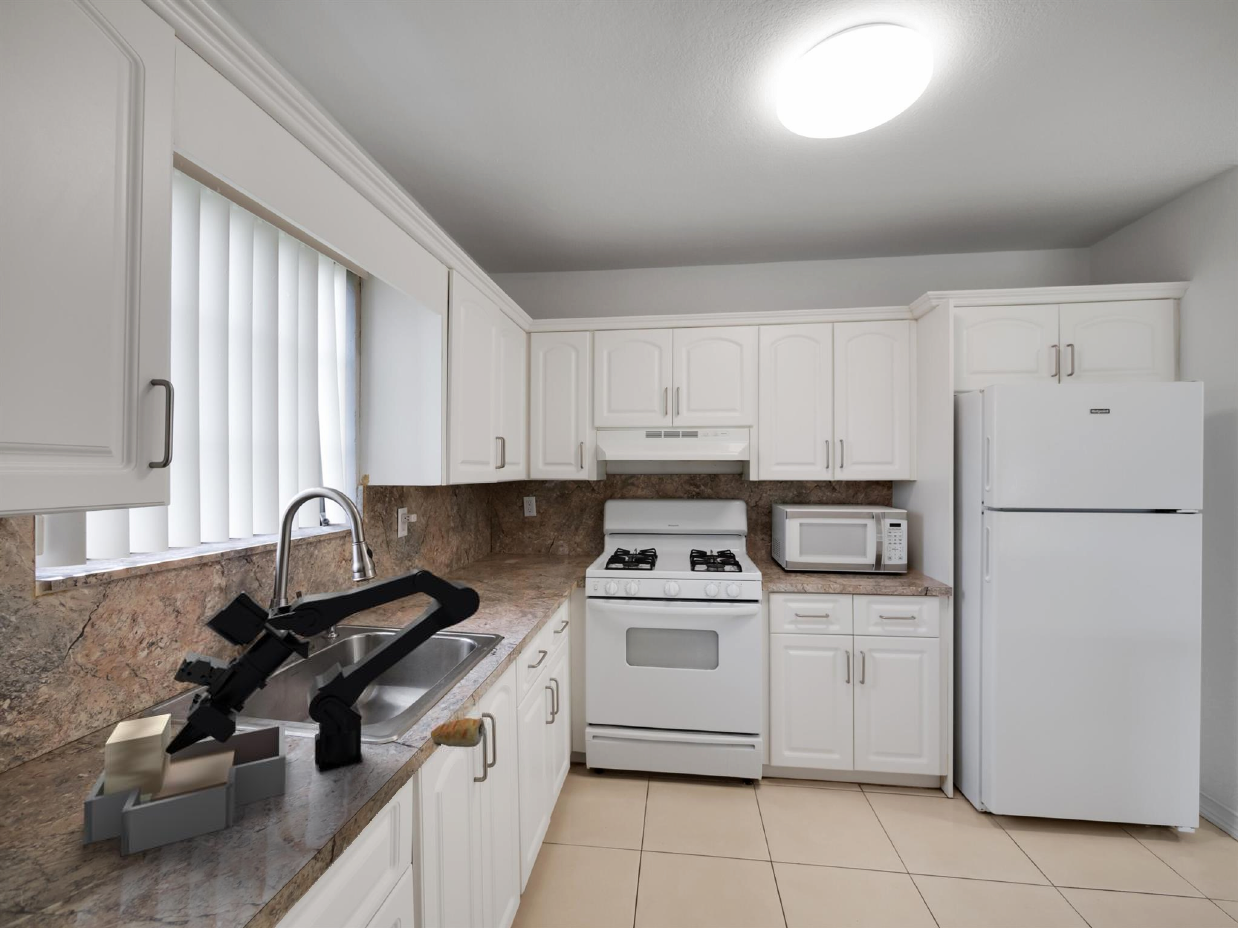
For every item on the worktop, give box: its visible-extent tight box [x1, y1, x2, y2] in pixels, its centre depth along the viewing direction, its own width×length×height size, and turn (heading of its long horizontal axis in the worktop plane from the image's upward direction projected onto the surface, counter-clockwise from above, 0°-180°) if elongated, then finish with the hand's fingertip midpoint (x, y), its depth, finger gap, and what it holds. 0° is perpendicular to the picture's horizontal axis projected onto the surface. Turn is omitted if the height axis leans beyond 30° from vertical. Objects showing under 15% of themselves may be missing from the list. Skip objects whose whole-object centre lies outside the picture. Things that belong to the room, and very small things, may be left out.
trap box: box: [83, 722, 286, 857], centre depth 82 cm, size 22×19×6 cm
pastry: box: [430, 717, 486, 748], centre depth 102 cm, size 9×7×4 cm
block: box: [104, 713, 172, 795], centre depth 81 cm, size 6×8×8 cm
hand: (168, 751), depth 82 cm, fingers closed, pressing on block
